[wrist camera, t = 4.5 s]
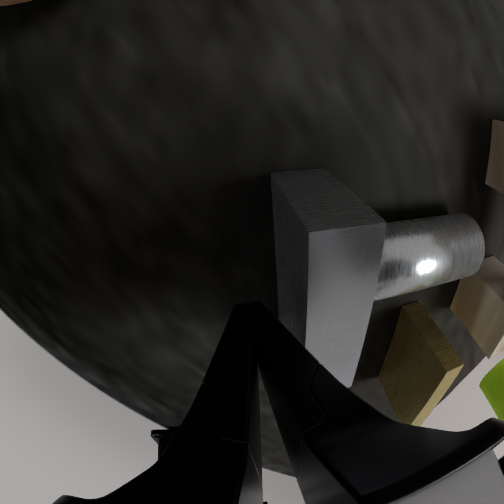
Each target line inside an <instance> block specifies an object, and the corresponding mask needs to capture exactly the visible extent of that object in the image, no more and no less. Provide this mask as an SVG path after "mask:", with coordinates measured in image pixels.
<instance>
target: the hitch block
mask: <svg viewBox="0 0 504 504" xmlns="http://www.w3.org/2000/svg"><path fill="white" fill-rule="evenodd" d="M485 184H487V185H488V186H490V187H492V188H494V189H495V190H497V191H499V192H500V193H502V194H504V122H502V121H498V120H494V119H493V121H492V135H491V145H490V154H489V162H488V169H487V175H486V181H485ZM450 309H451V310H452V311H453V313H454V314H455V315H456V316H457V318H458V319H459V320H460V321H461V323H462V324H463V325H464V327H465V328H466V329H467V330H468V332H469V333H470V334H471V336H472V337H473V338H474V340H475V341H476V342H477V344H478V345H479V346H480V348H481V349H482V350H483V352H484V353H485V355H486V356H487V357H488V359H490V358H492V357H494V356H495V355H497V354H499V353H500V352H502V351H503V350H504V265H503V264H502V263H501V262H500V261H499V260H498V259H496V258H495V257H494V256H491V257H488V258H484V260H483V263H482V265H481V267H480V269H479V270H478V271H477V272H476V273H475V274H473V275H471V276H468V277H465V278H461V279H460V282H459V285H458V287H457V290H456V293H455V295H454V298H453V301H452V303H451V306H450Z"/></svg>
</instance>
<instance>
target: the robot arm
mask: <svg viewBox="0 0 504 504" xmlns="http://www.w3.org/2000/svg"><path fill="white" fill-rule="evenodd" d="M256 357H257V358H256ZM257 362H258V365H257ZM258 367H259V371H260V374H261V377H262V380H263V383H264V386H265V389H266V392H267V395H268V398H269V401H270V404H271V407H272V410H273V413H274V416H275V419H276V422H277V425H278V428H279V431H280V433H281V436H282V439H283V442H284V445H285V448H286V451H287V454H288V456H289V459H290V462H291V465H292V468H293V470H294V473H295V476H296V478H297V482H298V484H299V487H300V490H301V492H302V495H303V498H304V501H305V503H306V504H504V456H503V457H501V458H500V459H499V460H498V459H497V457H496V455H495V453H494V451H493V448H494V447H496V446H497V445H498V444H499V443H501V442H502V441H503V440H504V420H500V419H496V418H490V419H488V420H486V421H484V422H483V423H481V424H479V425H478V426H476V427H475V428H473V429H471V430H467V431H461V432H451V431H444V430H437V429H431V428H425V427H420V426H414V425H409V424H404V423H400V422H397V421H394V420H392V419H390V418H388V417H386V416H385V415H383V414H382V413H380V412H379V411H378V410H376V409H375V408H373V407H372V406H371V405H369V404H368V403H367V402H365V401H364V400H363V399H361V398H360V397H359V396H357V395H356V394H355V393H353V392H352V391H351V390H349V389H348V388H347V387H346V386H345V385H343V384H342V383H341V382H340V381H339V380H337V379H336V378H335V377H334V376H333V375H332V374H331V373H330V372H329V371H328V370H327V369H326V368H325V367H324V366H323V365H322V364H320V362H319V361H318V360H317V359H316V358H315V357H314V356H313V355H312V354H311V353H310V352H309V351H308V350H307V349H306V348H305V347H304V346H303V345H302V344H301V343H300V342H299V341H298V339H297V338H296V337H295V336H294V335H293V334H292V333H291V332H290V331H289V330H288V329H287V328H286V327H285V326H284V325H283V324H282V323H281V322H280V321H279V320H278V319H277V318H276V317H275V315H274V314H273V313H272V312H271V311H270V310H269V309H268V308H267V307H266V306H265V305H264V304H263V303H262V302H261V301H256V302H250V303H248V304H247V303H243V304H236V305H235V306H234V308H233V310H232V312H231V315H230V317H229V320H228V322H227V324H226V327H225V329H224V332H223V334H222V336H221V339H220V341H219V344H218V346H217V348H216V351H215V353H214V356H213V358H212V360H211V363H210V365H209V368H208V370H207V372H206V375H205V377H204V379H203V383H202V384H201V386H200V389H199V391H198V393H197V396H196V398H195V400H194V402H193V404H192V406H191V408H190V410H189V412H188V413H187V415H186V417H185V419H184V421H183V422H182V424H181V426H180V427H179V429H167V430H152V431H151V437H152V438H153V439H154V440H155V441H156V442H157V444H158V461H157V462H156V463H155V464H154V465H153V466H151V467H150V468H149V469H147V470H146V471H144V472H143V473H141V474H140V475H138V476H137V477H136V478H134V479H132V480H131V481H129V482H128V483H126V484H125V485H123V486H121V487H120V488H118V489H117V490H115V491H113V492H112V493H110V494H108V495H106V496H104V497H101V498H97V499H83V498H79V497H74V496H69V495H63V496H61V497H60V498H58V499H57V500H56V501H55V502H54V503H53V504H268V503H267V502H263V491H262V461H261V433H260V406H259V378H258Z"/></svg>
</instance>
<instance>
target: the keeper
mask: <svg viewBox="0 0 504 504" xmlns="http://www.w3.org/2000/svg"><path fill="white" fill-rule="evenodd" d="M463 365H464V363H463V362H462V360H461V359H460V357H459V356H458V354H457V353H456V351H455V350H454V348H453V347H452V346H451V344H450V343H449V341H448V340H447V338H446V337H445V336H444V334H443V333H442V331H441V330H440V329H439V327H438V326H437V325H436V323H435V322H434V321H433V319H432V318H431V317H430V315H429V314H428V313H427V311H426V310H425V309H424V307H423V306H422V305H421V303H420V302H419V301H418V302H415V303H411V304H407V305H404V306H402V309H401V312H400V316H399V319H398V322H397V325H396V328H395V331H394V334H393V337H392V340H391V343H390V346H389V349H388V352H387V354H386V357H385V360H384V363H383V365H382V368H381V370H380V373H379V376H378V378H379V380H380V382H381V384H382V386H383V389H384V391H385V393H386V395H387V397H388V399H389V401H390V403H391V406H392V408H393V410H394V412H395V414H396V416H397V419H398V421H399V422H400V423H404V424H409V425H414V426H420V425H421V424H422V423H423V421H424V420H425V419H426V418H427V416H428V415H429V414H430V413H431V411H432V410H433V409H434V407H435V406H436V405H437V403H438V402H439V401H440V399H441V398H442V397H443V395H444V394H445V392H446V391H447V390H448V388H449V387H450V385H451V384H452V382H453V381H454V379H455V378H456V376H457V375H458V373H459V372H460V370H461V368H462V367H463Z"/></svg>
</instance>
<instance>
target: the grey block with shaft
mask: <svg viewBox="0 0 504 504" xmlns="http://www.w3.org/2000/svg"><path fill="white" fill-rule="evenodd" d="M270 175H271V189H272V204H273V220H274V237H275V255H276V273H277V294H278V316H279V321H280V322H281V323H282V324H283V325H284V326H285V327H286V328H287V329H288V330H289V331H290V332H291V333H292V334H293V335H294V336H295V337H296V338H297V339H298V341H299V342H300V343H301V344H302V345H303V346H304V347H305V348H306V349H307V350H308V351H309V352H310V353H311V354H312V355H313V356H314V357H315V358H316V359H317V360H318V361H319V362H320V364H322V365H323V366H324V367H325V368H326V369H327V370H328V371H329V372H330V373H331V374H332V375H333V376H334V377H335V378H336V379H337V380H339V381H340V382H341V383H342V384H343V385H345V386H346V387H347V388H348V387H351V385H352V382H353V379H354V376H355V372H356V369H357V365H358V362H359V358H360V355H361V351H362V347H363V343H364V339H365V335H366V331H367V327H368V323H369V319H370V314H371V310H372V305H373V301H377V300H382V299H386V298H390V297H394V296H398V295H402V294H406V293H410V292H414V291H418V290H422V289H426V288H429V287H433V286H437V285H440V284H444V283H447V282H451V281H454V280H458V279H461V278H465V277H468V276H471V275H473V274H475V273H476V272H477V271H478V270H479V269H480V267H481V265H482V263H483V260H484V255H485V243H484V237H483V234H482V231H481V229H480V227H479V225H478V224H477V222H476V221H475V220H474V219H473V218H472V217H471V216H469V215H467V214H464V213H460V214H452V215H443V216H435V217H427V218H419V219H411V220H403V221H395V222H386V221H385V220H384V219H383V218H382V217H380V216H379V215H378V214H377V213H376V212H375V211H374V210H373V209H372V208H370V207H369V206H368V205H367V204H366V203H365V202H364V201H362V200H361V199H360V198H359V197H358V196H357V195H355V194H354V193H353V192H352V191H351V190H350V189H348V188H347V187H346V186H345V185H344V184H342V183H341V182H340V181H339V180H337V179H336V178H335V177H334V176H333V175H331V174H330V173H329V172H328V171H326V170H325V169H324V168H321V169H309V170H297V171H287V172H277V173H270Z"/></svg>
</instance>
